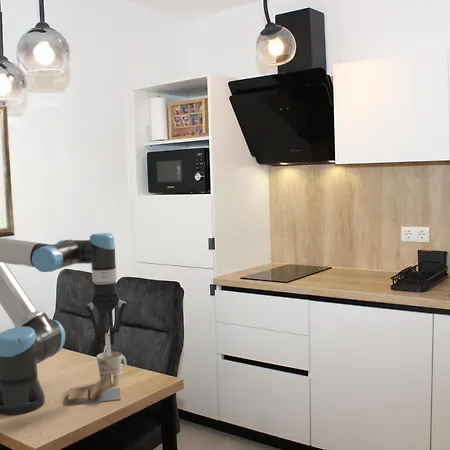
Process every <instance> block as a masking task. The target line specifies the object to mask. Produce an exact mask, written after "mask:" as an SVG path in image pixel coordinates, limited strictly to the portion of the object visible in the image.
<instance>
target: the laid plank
mask: <svg viewBox="0 0 450 450" xmlns="http://www.w3.org/2000/svg"><path fill="white" fill-rule="evenodd" d="M90 390H91V389H89V387H79V388H69V392H68V398H67V399H68V400H67V404H68V403H78V402H88V401H89V397H90Z"/></svg>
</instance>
